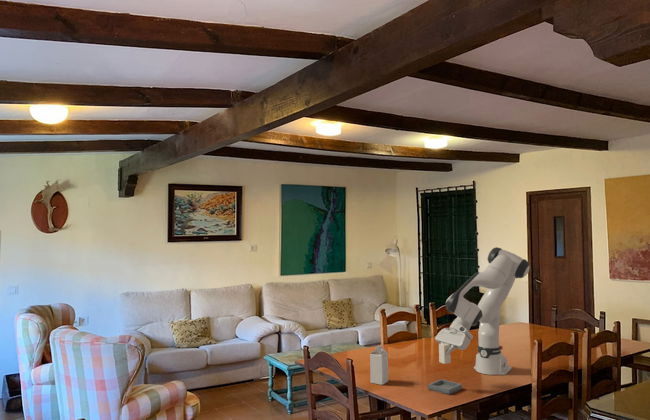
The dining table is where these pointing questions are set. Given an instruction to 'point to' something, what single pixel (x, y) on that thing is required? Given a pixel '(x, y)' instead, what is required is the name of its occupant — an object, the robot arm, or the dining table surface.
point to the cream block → (444, 353)
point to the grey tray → (445, 386)
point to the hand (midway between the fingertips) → (443, 352)
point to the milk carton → (379, 366)
